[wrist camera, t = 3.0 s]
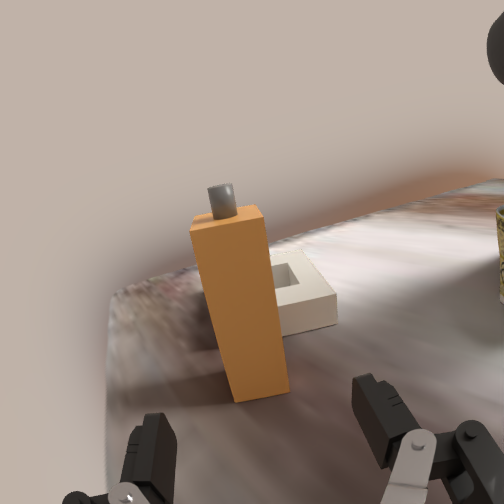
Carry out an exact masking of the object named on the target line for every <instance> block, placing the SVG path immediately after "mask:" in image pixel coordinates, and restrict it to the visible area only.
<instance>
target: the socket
mask: <svg viewBox="0 0 504 504" xmlns="http://www.w3.org/2000/svg"><path fill="white" fill-rule="evenodd" d="M270 261H271V267H272V273H273V280H274V286H275V293H276V299H277V306H278V313H279V319H280V326H281V333H282V336H287V335H292V334H296V333H301V332H305V331H309V330H314V329H318V328H322V327H326V326H330V325H334V324H338V317H337V296H336V292H335V291H334V290H333V289H332V287H331V286H330V285H329V283H328V282H327V281H326V280H325V278H324V277H323V276H322V275H321V273H320V272H319V271H318V269H317V268H316V267H315V266H314V264H313V263H312V262H311V261H310V259H309V258H308V257H307V256H306V254H305V253H304V252H303V251H302V249H301V250H295V251H290V252H285V253H280V254H275V255H270Z"/></svg>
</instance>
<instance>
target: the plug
mask: <svg viewBox="0 0 504 504" xmlns="http://www.w3.org/2000/svg"><path fill="white" fill-rule="evenodd" d="M208 193H209V199H210V204H211V209H212V213H207V214H203V215H197V216H195V217H194V220H193V223H192V226H191V228H190V231H189V232H190V236H191V240H192V244H193V249H194V253H195V257H196V262H197V266H198V270H199V274H200V278H201V282H202V286H203V290H204V294H205V298H206V302H207V306H208V309H209V313H210V317H211V321H212V324H213V328H214V332H215V335H216V339H217V343H218V346H219V350H220V353H221V357H222V360H223V364H224V367H225V371H226V374H227V378H228V381H229V384H230V388H231V391H232V394H233V398H234V401H235V403H236V402H242V401H248V400H254V399H259V398H264V397H269V396H274V395H279V394H284V393H288V392H290V388H289V381H288V374H287V367H286V360H285V353H284V346H283V339H282V333H281V326H280V319H279V313H278V306H277V299H276V293H275V286H274V280H273V273H272V267H271V261H270V254H269V248H268V242H267V236H266V230H265V224H264V217H263V216H262V214H261V212H260V211H259V209H258V208H257V206H256V205H255V204H254V205H249V206H244V207H238V208H237V207H236V202H235V196H234V191H233V186H232V184H222V185H217V186H213V187H210V188H208Z"/></svg>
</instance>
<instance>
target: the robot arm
mask: <svg viewBox="0 0 504 504" xmlns="http://www.w3.org/2000/svg"><path fill="white" fill-rule="evenodd" d="M487 56H488V61H489V64H490V67H491V69H492V72H493V73H494V75H495V76H496V78H497V79H498V80H499V81H500V82H501V83H502V84H503V85H504V12H503V13H502V14H501V16H500V17H499V18H498V19H497V20H496V21H495V22H494V23H493V25H492V26H491V28H490V31H489V33H488V38H487ZM352 408H353V412H354V414H355V416H356V418H357V420H358V423H359V425H360V427H361V429H362V431H363V433H364V435H365V437H366V439H367V441H368V443H369V445H370V447H371V450H372V452H373V454H374V456H375V458H376V460H377V462H378V464H379V466H380V468H381V469H384V468H386V467H389V468H390V470H391V472H392V473H391V476H390V478H389V481H388V484H387V487H386V489H385V492H384V495H383V497H382V500H381V502H380V504H424V503H425V499H426V496H427V491H428V488H427V483H428V481H429V480H435V479H440V478H441V480H442V482H443V484H444V486H445V488H446V490H447V492H448V494H449V497H450V499H451V501H452V503H453V504H504V454H503V453H502V451H501V450H500V448H499V447H498V445H497V444H496V442H495V441H494V439H493V438H492V436H491V435H490V433H489V432H488V431H487V429H486V428H485V426H484V425H483V424H482V423H480V422H478V421H475V420H468V421H465V422H463V423H461V424H460V425H459V426H458V427H457V429H456V431H452V432H447V433H441V434H433V433H431V432H430V431H428V430H425V429H422V428H421V427H420V426H419V424H418V423H417V421H416V420H415V418H414V417H413V415H412V414H411V412H410V411H409V409H408V408H407V406H406V405H405V403H403V400H402V399H401V397H400V396H399V394H398V393H397V391H396V390H395V388H394V387H393V386H392V385H390V384H389V383H387V382H386V381H381V382H378V383H377V382H376V380H375V378H374V377H373V375H372V374H371V373H367V374H364V375H361V376H358V377H354V378H353V381H352ZM126 452H127V454H126V455H125V460H124V465H123V470H122V474H121V479H120V482H119V483H118V484H116V485H115V486H113V487H112V488H111V490H110V491H109V493H107V494H103V495H98V496H93V497H89V496H87V495H86V494H85V493H83V492H79V491H75V492H71V493H69V494H68V495H67V496H66V497H65V498H64V500H63V502H62V504H173V498H174V482H175V467H176V454H177V440H176V436H175V433H174V431H173V430H172V428H171V426H170V424H169V422H168V420H167V418H166V416H165V415H164V413H151V414H145V416H144V421H143V426H136V427H135V429H134V430H133V431H132V433H131V434H130V438H129V442H128V446H127V451H126Z"/></svg>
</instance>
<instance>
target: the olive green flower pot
mask: <svg viewBox="0 0 504 504" xmlns="http://www.w3.org/2000/svg"><path fill="white" fill-rule="evenodd" d="M496 221H497V234H498V245H499V253H500V302H501V303H503V304H504V205H502V206H500V207H498V208H497V209H496Z"/></svg>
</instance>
